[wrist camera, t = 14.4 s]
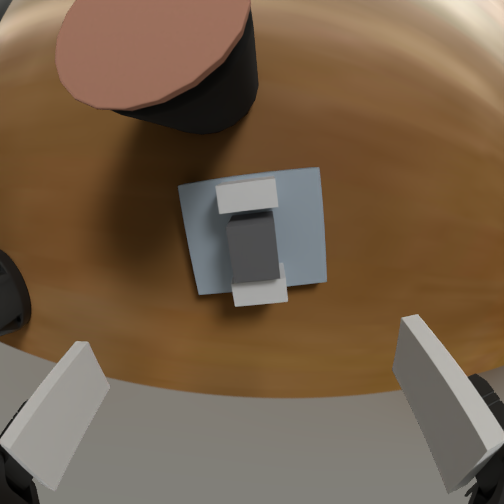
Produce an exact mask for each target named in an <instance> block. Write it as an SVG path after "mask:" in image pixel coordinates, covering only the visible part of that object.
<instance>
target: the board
mask: <svg viewBox="0 0 504 504" xmlns="http://www.w3.org/2000/svg"><path fill="white" fill-rule="evenodd" d="M178 191H179V197H180V203H181V208H182V214H183V219H184V225H185V230H186V235H187V241H188V246H189V251H190V256H191V260H192V265H193V270H194V275H195V279H196V284H197V288H198V293H199V295H203V294H215V293H226V292H233V298H234V303H235V307H237V306H248V305H259V304H269V303H279V302H288V297H287V286H295V285H304V284H312V283H321V282H327V273H326V249H325V231H324V216H323V203H322V191H321V180H320V170H319V168H318V167H311V168H300V169H289V170H279V171H270V172H262V173H253V174H246V175H238V176H231V177H224V178H217V179H210V180H204V181H198V182H192V183H186V184H182V185H179V186H178ZM267 211H273V217H274V223H275V232H276V241H277V251H278V260H279V270H280V279H271V280H262V281H252V282H242V283H234V277H233V271H232V265H231V258H230V252H229V246H228V240H227V233H226V226H227V224H228V222H229V220H230V219H231V217H232V216H233V215H241V214H250V213H258V212H267Z"/></svg>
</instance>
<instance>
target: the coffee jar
mask: <svg viewBox="0 0 504 504" xmlns="http://www.w3.org/2000/svg"><path fill="white" fill-rule="evenodd" d="M55 63H56V67H57V71H58V74H59V78H60V81H61V83H62V84H63V85H64V87H65V88H66V89H67V90H68V91H69V93H70V94H71V95H72V96H73V97H74V98H75V100H78V101H80V102H82V103H85V104H87V105H89V106H91V107H94V108H96V109H102V110H112V111H114V112H116V113H118V114H121V115H124V116H128V117H132V118H136V119H140V120H144V121H148V122H152V123H155V124H159V125H163V126H166V127H170V128H173V129H177V130H180V131H183V132H188V133H195V134H201V135H202V134H209V133H215V132H220V131H222V130H224V129H226V128H228V127H230V126H233V125H234V124H235V123H237V122H238V121H239V120H240V119H241V118H242V117H243V116H245V115H246V114H247V112H248V111H249V109H250V107H251V106H252V104H253V103H254V101H255V98H256V94H257V89H258V73H257V61H256V50H255V38H254V27H253V20H252V13H251V1H250V0H76V1H75V2H74V4H73V5H72V6H71V8H70V9H69V11H68V12H67V14H66V16H65V19H64V21H63V24H62V26H61V29H60V31H59V34H58V37H57V44H56V55H55Z"/></svg>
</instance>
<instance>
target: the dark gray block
mask: <svg viewBox="0 0 504 504" xmlns="http://www.w3.org/2000/svg"><path fill="white" fill-rule="evenodd" d="M226 233H227V240H228V246H229V252H230V258H231V265H232V271H233V277H234V283H242V282H252V281H262V280H271V279H280V270H279V260H278V251H277V241H276V232H275V223H274V217H273V211H267V212H258V213H250V214H241V215H233V216H232V217H231V219H230V220H229V222H228V224H227V226H226Z"/></svg>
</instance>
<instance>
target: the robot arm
mask: <svg viewBox="0 0 504 504" xmlns="http://www.w3.org/2000/svg"><path fill="white" fill-rule="evenodd" d="M30 315H31V304H30V298H29V294H28V291H27V287H26V285H25V282H24V280H23V278H22V276H21V274H20V272H19V270H18V268H17V267H16V265H15V264H14V262H13V261H12V260H11V258H10V257H9V256H8V255H7V254H6V253H5V252H3V251H2V250H0V336H2V335H5V334H8V333H12V332H15V331H18V330H19V329H21V328H22V327H23V326H24V325H25V324H26V323H27V322H28V321H29V319H30ZM392 371H393V372H394V374H395V376H396V378H397V380H398V382H399V384H400V386H401V388H402V390H403V392H404V394H405V396H406V398H407V400H408V403H409V405H410V407H411V409H412V411H413V413H414V415H415V417H416V419H417V422H418V424H419V426H420V428H421V430H422V432H423V435H424V437H425V439H426V441H427V444H428V446H429V448H430V451H431V452H432V455H433V458H434V460H435V463H436V465H437V467H438V470H439V472H440V475H441V477H442V480H443V482H444V485H445V488H446V490H447V493H448V494H449V493H451V492H453V491H455V490H457V489H459V488H461V487H463V486H465V485H467V484H468V483H469V482H470V481H471V480H472V479H473V478H474V477H476V479H477V483H475V484H474V485H473V486H472V487H471V488H470V489H469V490H468V491H467V493H466V494H465V496H466V497H467V496H468V495H469V494H470V493H471V492H472V495H471V498H470V500H469V503H468V504H504V404H503V403H502V401H500V398H499V397H498V395H497V394H496V393H494V390H493V389H492V387H491V386H490V385H489V383H488V382H487V381H486V380H485V379H483V378H482V377H480V376H479V375H477V374H474V375H471V376H469V377H467V376H466V375H465V373H464V372H463V371H462V369H461V368H460V367H459V365H458V364H457V363H456V361H455V360H454V359H453V357H452V356H451V355H450V354H449V352H448V351H447V350H446V348H445V347H444V346H443V345H442V343H441V342H440V341H439V340H438V338H437V337H436V336H435V335H434V333H433V332H432V331H431V330H430V328H429V327H428V326H427V325H426V324H425V322H424V321H423V320H422V319H421V318H420V316H419V315H418V314H417V315H412V316H407V317H403V318H401V323H400V330H399V336H398V342H397V348H396V353H395V358H394V363H393V368H392ZM109 389H110V385H109V383H108V381H107V379H106V377H105V375H104V374H103V372H102V370H101V368H100V366H99V364H98V362H97V360H96V358H95V356H94V353H93V351H92V349H91V347H90V345H89V343H88V342H81V341H76V342H75V343H74V344H73V345H72V347H71V348H70V349H69V350H68V351H67V353H66V354H65V355H64V356H63V357H62V358H61V360H60V361H59V362H58V363H57V365H56V366H55V367H54V368H53V369H52V371H51V372H50V373H49V374H48V376H47V377H46V378H45V379H44V381H43V382H42V383H41V384H40V386H39V387H38V388H37V389H36V391H35V392H34V393H33V395H32V396H31V397H30V398H29V399H28V400H27V401H25V402H24V403H23V404H22V406H21V407H20V408H19V410H18V413H16V414H15V415H14V416H13V419H11V421H10V422H9V423H8V425H7V426H6V428H5V429H4V430H3V432H2V434H1V435H0V504H40V503H39V499H38V494H37V489H36V486H35V483H34V482H33V481H32V479H33V477H34V478H35V479H36V480H37V481H39V482H40V483H41V484H42V485H44V486H46V487H47V488H49V489H51V490H53V491H56V489H57V487H58V485H59V483H60V480H61V478H62V476H63V474H64V472H65V470H66V468H67V466H68V464H69V462H70V460H71V458H72V456H73V454H74V453H75V451H76V449H77V447H78V445H79V443H80V441H81V439H82V437H83V435H84V433H85V432H86V430H87V428H88V426H89V424H90V422H91V421H92V419H93V417H94V415H95V413H96V411H97V410H98V408H99V406H100V404H101V403H102V401H103V399H104V397H105V395H106V394H107V392H108V390H109Z"/></svg>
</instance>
